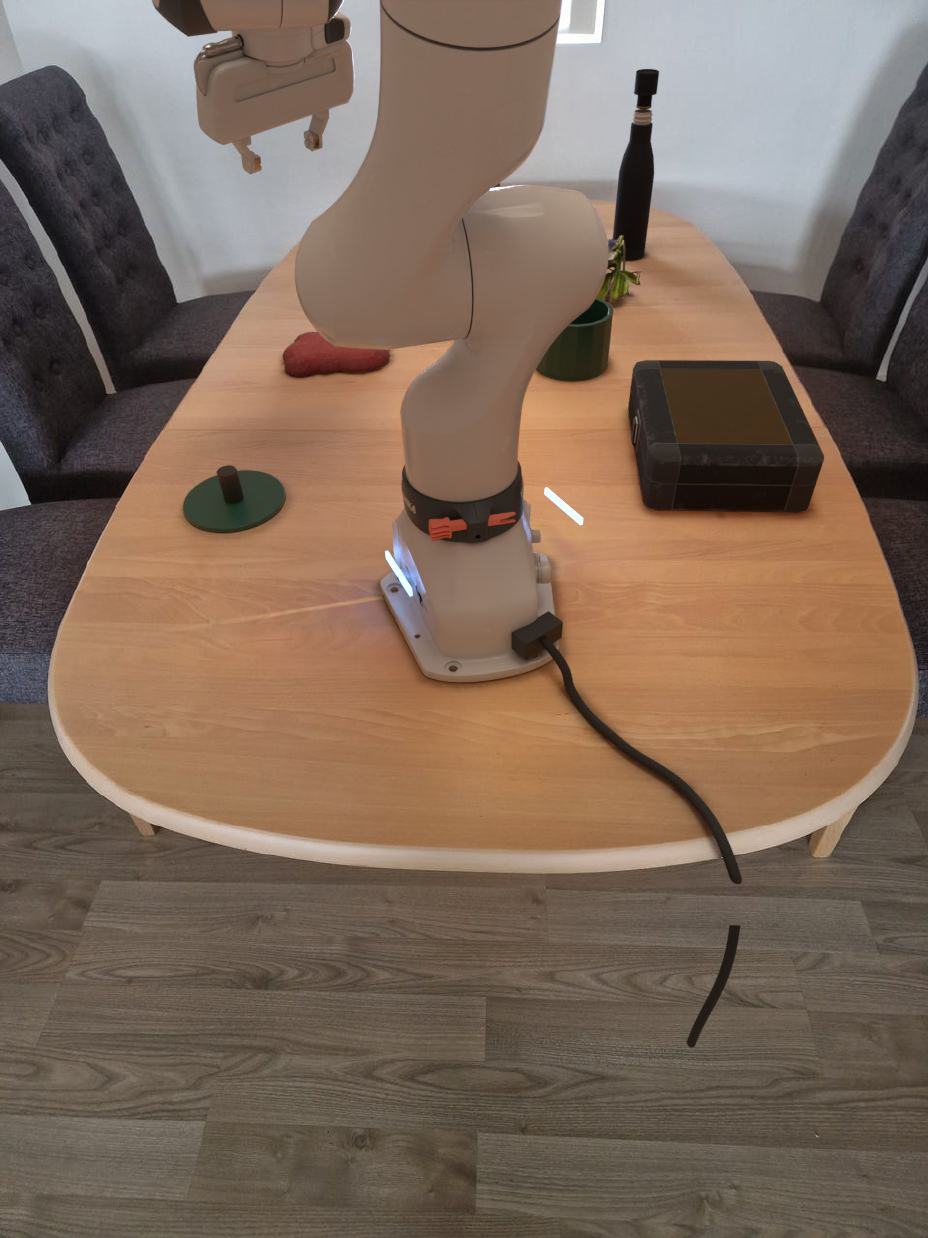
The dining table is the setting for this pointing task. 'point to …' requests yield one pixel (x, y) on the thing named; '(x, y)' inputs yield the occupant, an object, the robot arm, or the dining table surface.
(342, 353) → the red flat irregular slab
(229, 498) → the lid
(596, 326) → the tin
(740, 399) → the cash box
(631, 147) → the wine bottle
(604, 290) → the passion flower
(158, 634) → the dining table surface
